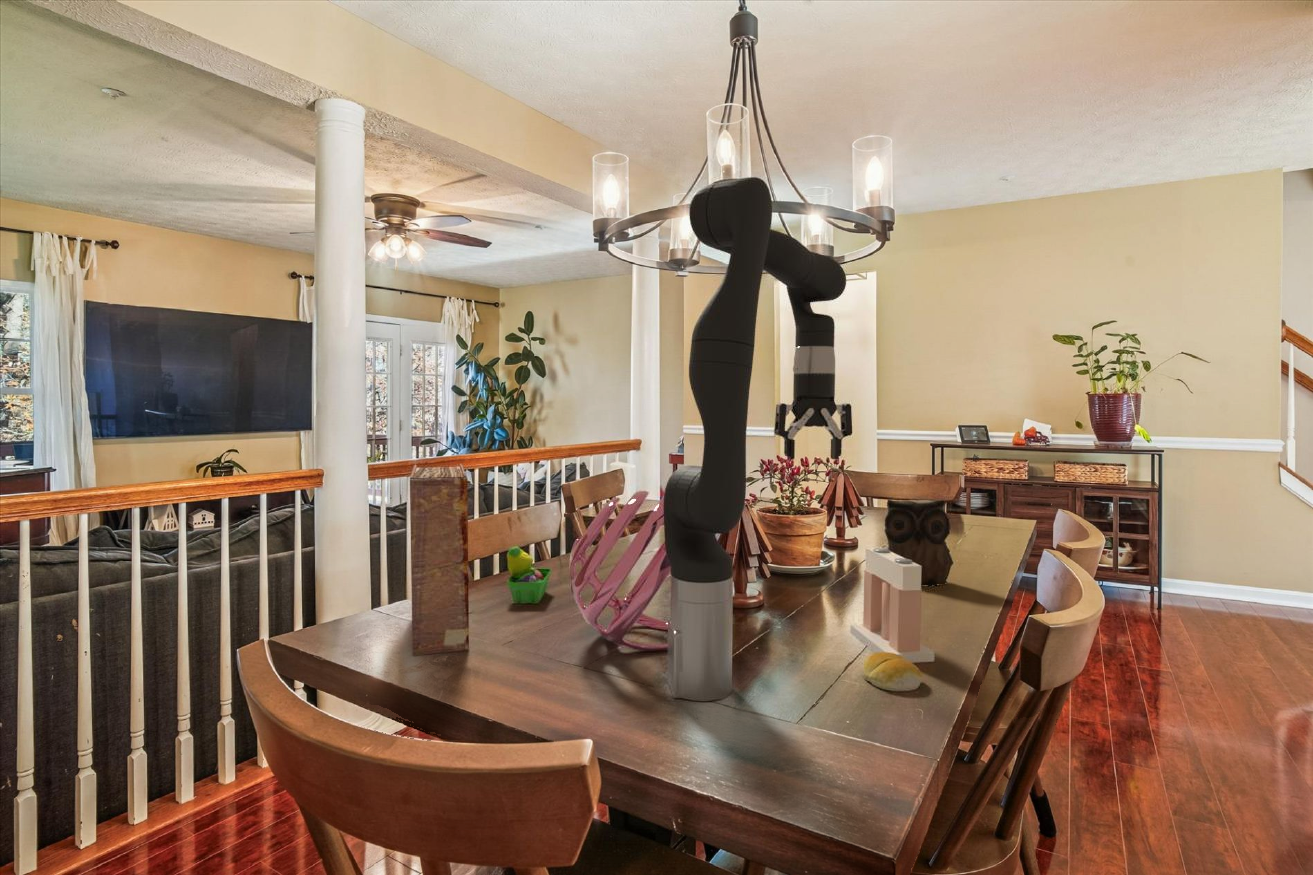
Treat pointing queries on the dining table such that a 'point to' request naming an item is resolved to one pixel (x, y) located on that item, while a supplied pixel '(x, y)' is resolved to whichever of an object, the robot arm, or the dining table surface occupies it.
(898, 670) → the bread roll
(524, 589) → the fruit basket
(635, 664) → the dining table surface
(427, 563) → the book
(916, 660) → the display stand
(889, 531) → the owl
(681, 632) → the robot arm
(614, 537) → the spiral basket
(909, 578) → the frame bar
